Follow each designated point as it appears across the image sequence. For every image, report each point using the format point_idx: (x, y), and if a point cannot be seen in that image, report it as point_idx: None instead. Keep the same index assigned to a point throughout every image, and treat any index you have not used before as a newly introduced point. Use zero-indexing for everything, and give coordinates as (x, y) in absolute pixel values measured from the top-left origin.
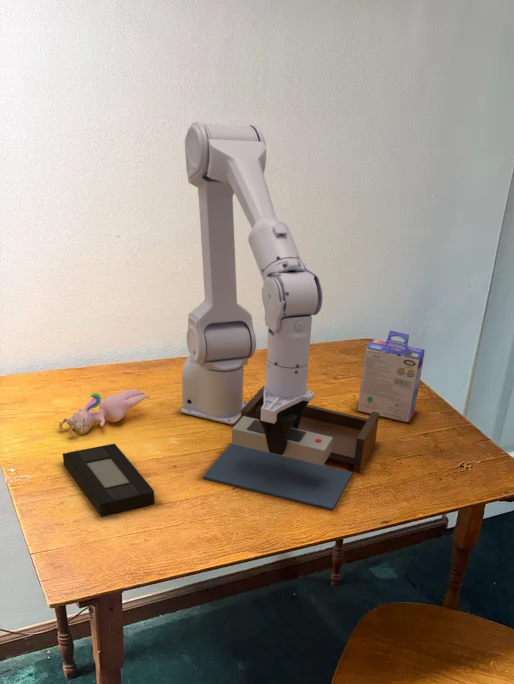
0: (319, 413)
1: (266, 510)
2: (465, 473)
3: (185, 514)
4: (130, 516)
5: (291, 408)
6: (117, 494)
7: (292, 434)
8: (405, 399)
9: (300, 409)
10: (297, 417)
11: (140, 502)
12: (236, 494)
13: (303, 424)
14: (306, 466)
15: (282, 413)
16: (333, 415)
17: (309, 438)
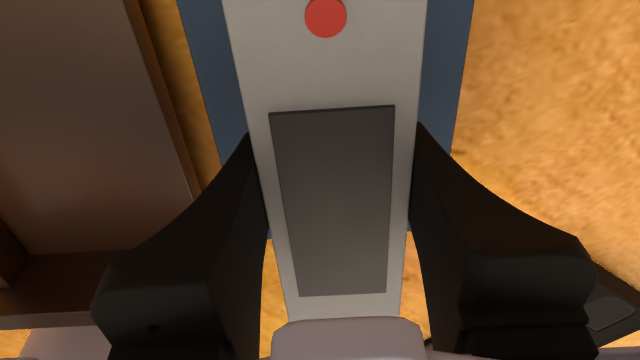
0: None
1: (564, 24)
2: None
3: (617, 193)
4: (635, 263)
5: (243, 274)
6: (614, 315)
7: (338, 158)
8: None
9: (234, 244)
10: (242, 210)
11: (603, 274)
12: (487, 136)
13: (5, 138)
14: (219, 12)
15: (519, 327)
16: None
17: (321, 73)
